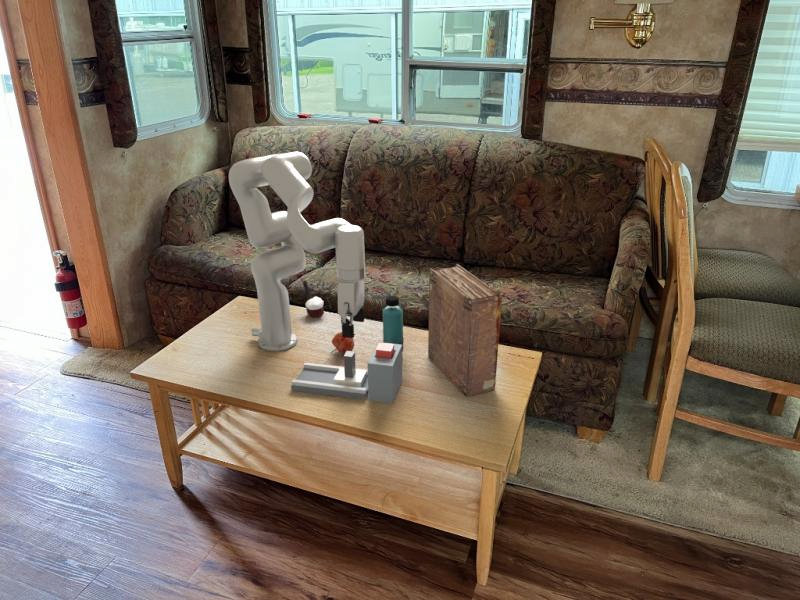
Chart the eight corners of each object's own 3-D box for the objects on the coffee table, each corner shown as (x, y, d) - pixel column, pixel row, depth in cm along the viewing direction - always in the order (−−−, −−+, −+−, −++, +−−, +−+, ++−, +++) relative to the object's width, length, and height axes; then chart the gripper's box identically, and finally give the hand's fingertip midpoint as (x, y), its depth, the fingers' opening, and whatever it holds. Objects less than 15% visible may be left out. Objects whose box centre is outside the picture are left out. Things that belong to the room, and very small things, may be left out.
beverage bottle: (401, 361, 193) (401, 302, 184) (380, 358, 194) (379, 301, 186) (405, 350, 199) (405, 293, 190) (385, 348, 200) (384, 292, 191)
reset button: (376, 362, 172) (375, 349, 171) (379, 354, 176) (379, 342, 174) (390, 363, 172) (390, 351, 170) (394, 356, 175) (394, 343, 174)
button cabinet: (368, 400, 174) (367, 363, 168) (379, 377, 184) (378, 342, 179) (393, 403, 172) (392, 365, 167) (402, 380, 183) (402, 344, 178)
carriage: (333, 385, 178) (332, 357, 174) (340, 373, 183) (339, 346, 179) (360, 388, 176) (359, 360, 172) (366, 376, 182) (365, 349, 178)
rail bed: (291, 390, 178) (290, 382, 177) (306, 369, 189) (305, 361, 188) (365, 399, 174) (364, 391, 173) (376, 377, 184) (375, 369, 183)
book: (427, 356, 196) (429, 267, 183) (453, 350, 199) (456, 263, 186) (467, 397, 174) (471, 301, 162) (495, 390, 178) (502, 295, 165)
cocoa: (327, 319, 220) (327, 288, 215) (310, 322, 218) (309, 291, 212) (318, 307, 228) (317, 277, 223) (301, 310, 225) (301, 280, 220)
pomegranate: (335, 365, 195) (360, 348, 192) (320, 348, 193) (345, 330, 191) (339, 356, 202) (363, 339, 199) (325, 339, 200) (349, 322, 198)
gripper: (347, 259, 173) (349, 314, 180) (326, 283, 158) (330, 342, 165) (373, 261, 172) (374, 316, 179) (355, 285, 156) (357, 345, 164)
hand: (353, 329), depth 172 cm, fingers open, 9 cm apart
